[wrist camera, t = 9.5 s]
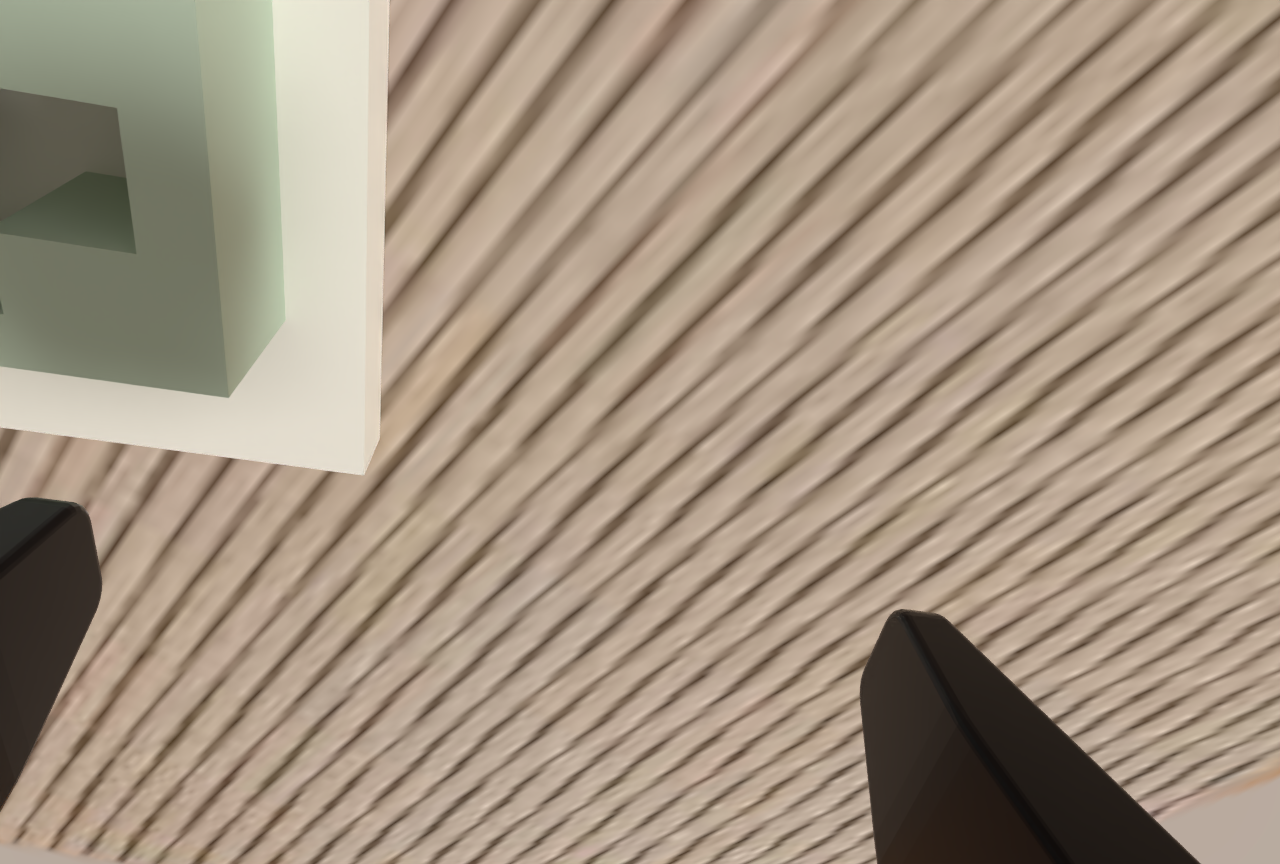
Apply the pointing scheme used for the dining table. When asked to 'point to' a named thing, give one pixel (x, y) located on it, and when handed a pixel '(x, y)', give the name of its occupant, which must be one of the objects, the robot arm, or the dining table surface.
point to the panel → (149, 196)
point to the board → (312, 259)
